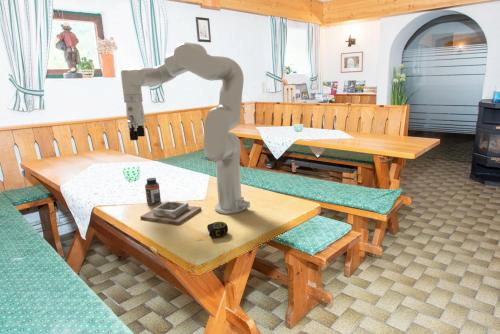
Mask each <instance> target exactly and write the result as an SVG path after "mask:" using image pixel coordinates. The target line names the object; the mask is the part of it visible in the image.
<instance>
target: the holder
mask: <svg viewBox="0 0 500 334" xmlns="http://www.w3.org/2000/svg"><path fill="white" fill-rule="evenodd" d="M200 211H202V207H201V206H196V205H195V206H193V205H189V202H183V201H182V202H181V201H174V200H167V201H164V202H163V203H161V204H158V205H157V206H156V207H154V208H153V209H151V210H150V211H148V212H146V213H145V214H142V215H140V216H139V217H140V220H142V221H143V220H144V221H148V222H149V221H150V222H154V223H155V222H156V223H163V224H170V225H176V226H179V225H181V224H183V223H184V222H186V221H187V220H188V219H190V218H191V217H193V216H195V215H196V214H198V213H199V212H200Z"/></svg>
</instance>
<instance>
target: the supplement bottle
mask: <svg viewBox="0 0 500 334" xmlns="http://www.w3.org/2000/svg"><path fill="white" fill-rule="evenodd" d="M144 188H145V195H146V196H145V197H146V198H145V199H146V203H147V205H149V206H156V205H155V204H157V205H160V203H161V202H162V199H161V191H160V184H159V182H157V178H156V177H149V178H147V179H146V184H144Z"/></svg>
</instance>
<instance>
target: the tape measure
mask: <svg viewBox="0 0 500 334" xmlns="http://www.w3.org/2000/svg"><path fill="white" fill-rule="evenodd" d="M206 226H207V227H206V228H207V230H208V232H209V233H208V234H209V237H210V238H211V239H214V238H220V237H224V236H225V235H227V233H228V231H229V227H228V225H227V223H226V222H224V221H215V222H212V223H208V224H207V225H206Z"/></svg>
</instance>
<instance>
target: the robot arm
mask: <svg viewBox="0 0 500 334" xmlns="http://www.w3.org/2000/svg"><path fill="white" fill-rule="evenodd" d="M187 72H190V73H192V74H193V75H196V76H198V77H199V78H201V79H204V80H206V81H222V84H221V87H220V91H219V97H218V98H219V99H218V100H219V101H218V105H217V106H214V107H213V108H211V109H209V111H208V113H207V114H206V116H205V120H204V121H205V122H204V132H203V134H204V135H203V152H204V156H206V158H207V159H208V160H209V161H211V162H215V173H216V185H217V187H216V189H217V200H218V201H217V202H218V203H217V204H216V205H215V206H214V210H215V212H216V213H219V214H224V215H225V214H226V215H228V214H230V215H231V214H238V213H241V212H243V211H245V209H246V208H247V209H248V208H250V207H251V202H250V201H249V200H245V198H244V196H242V185H241V184H242V183H241V181H242V180H241V164H240V163H241V161H240V160H241V159H240V157H241V149H242V146H241V141H240V139H239V137H238V135H237V134H235V133H234V132H231V130H233V129H236V128H237V127H238V126H239V124H240V121H241V112H242V111H241V110H242V104H243V103H242V102H243V92H244V91H243V89H244V83H245V82H244V72H243V70H242V68H241V66H240V65H239V64H238V63H237V62H236V61H235V60H234V59H231V58H229V57H227V56H226V57H225V56H221V55H220V56H217V55H210V54H208V51H207V50H206V48H205V47H204V46H203V45H201V44H198V43H193V42H181V43H179V44H177V46H176V47H175V48H174V51H173V52H171V53H169V54H167V55H166V56H165V57H164V63H162V64H160V65H157V66H154V67H137V68H124V69H122V70H121V72H120V77H121V85H122V93H123V101H124V102H123V103H124V104H125V107H126V108H125V110H126V120H127V125H128V126H127V127H128V132H129V139H130V141H138V140H139V137H145V136H146V135H145V123H146V117H145V111H144V105H143V102H144V101H143V91H142V87H152V86H153V87H155V86H160V85H163V84H165V83H168V82H170V81H172V80H174V79H175V78H177V76H180V75H182V74H184V73H187Z"/></svg>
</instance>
